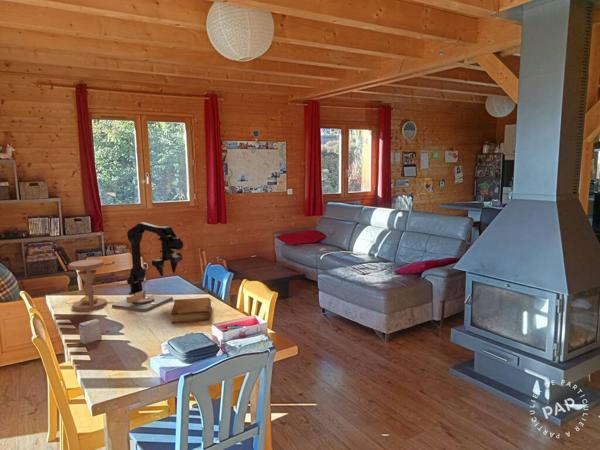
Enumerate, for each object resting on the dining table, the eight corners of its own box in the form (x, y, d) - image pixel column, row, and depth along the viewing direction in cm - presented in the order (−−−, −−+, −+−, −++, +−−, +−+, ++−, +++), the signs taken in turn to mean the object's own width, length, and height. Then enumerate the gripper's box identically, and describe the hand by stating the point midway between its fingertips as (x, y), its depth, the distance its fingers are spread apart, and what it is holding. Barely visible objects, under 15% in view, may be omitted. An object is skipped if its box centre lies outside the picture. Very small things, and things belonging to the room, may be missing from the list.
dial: (141, 296, 256) (141, 287, 255) (158, 298, 252) (158, 289, 251) (120, 305, 240) (119, 295, 240) (137, 307, 236) (137, 297, 235)
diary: (210, 321, 219) (209, 310, 218) (171, 324, 216) (170, 313, 215) (210, 307, 241) (210, 296, 241) (175, 309, 238) (175, 299, 237)
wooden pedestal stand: (106, 308, 240) (102, 264, 236) (70, 313, 234) (66, 267, 230) (107, 299, 256) (104, 258, 253) (74, 303, 250) (70, 260, 246)
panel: (112, 307, 242) (111, 303, 242) (141, 295, 263) (140, 292, 263) (145, 311, 234) (145, 308, 234) (172, 299, 255) (172, 295, 255)
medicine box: (97, 336, 201) (96, 318, 199) (102, 339, 198) (100, 320, 197) (79, 342, 195) (78, 323, 193) (84, 344, 192) (82, 325, 191)
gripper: (164, 252, 242) (166, 280, 244) (188, 246, 258) (189, 272, 260) (150, 250, 247) (151, 277, 250) (174, 245, 263) (175, 270, 266)
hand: (168, 274), depth 256 cm, fingers open, 9 cm apart
